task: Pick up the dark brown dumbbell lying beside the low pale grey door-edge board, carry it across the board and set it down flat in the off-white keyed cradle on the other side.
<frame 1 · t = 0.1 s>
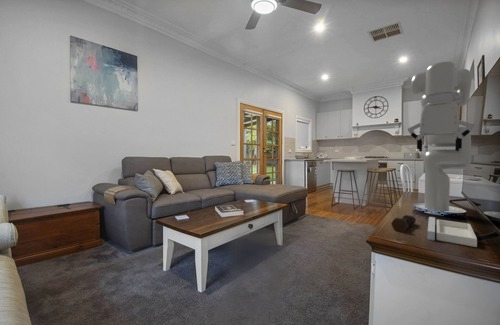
hand: (438, 151, 77), 31 cm above the table, tool pointing down, fingers open, 9 cm apart
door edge: (431, 231, 87), on the table
dark brown dumbbell: (405, 228, 93), on the table
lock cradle: (454, 234, 83), on the table
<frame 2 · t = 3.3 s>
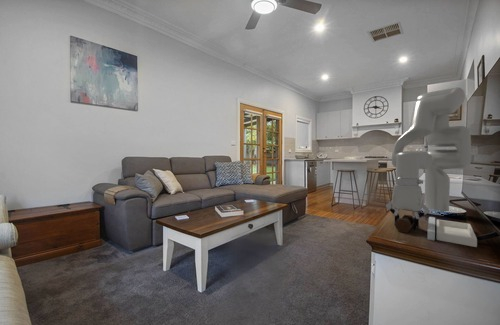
hand: (406, 225, 92), 1 cm above the table, tool pointing down, fingers closed on dark brown dumbbell, 5 cm apart
dark brown dumbbell: (406, 228, 92), on the table, touching gripper
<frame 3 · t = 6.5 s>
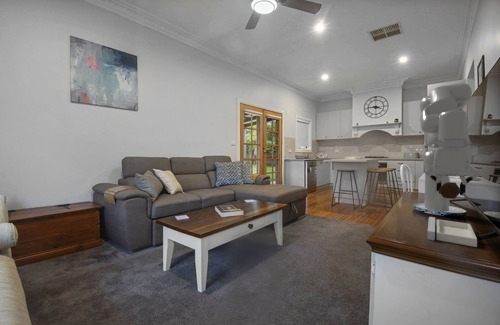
hand: (450, 193, 83), 15 cm above the table, tool pointing down, fingers closed on dark brown dumbbell, 5 cm apart
dark brown dumbbell: (450, 195, 83), point 14 cm above the table, touching gripper
when the fingers open (4 cm above the table, at t = 9.7 s): dark brown dumbbell drops 3 cm, resting on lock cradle.
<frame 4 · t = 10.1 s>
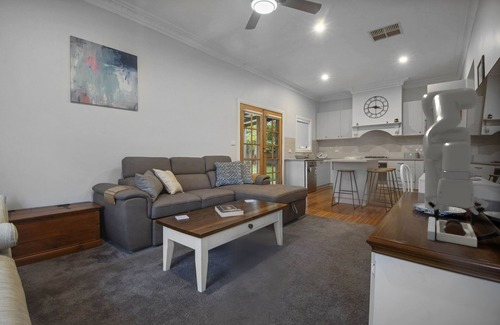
hand: (454, 222, 83), 5 cm above the table, tool pointing down, fingers open, 9 cm apart
dark brown dumbbell: (454, 233, 83), resting on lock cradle
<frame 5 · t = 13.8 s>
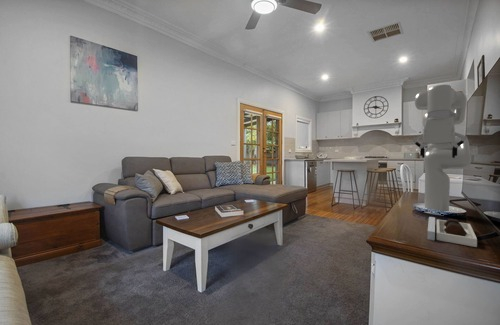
hand: (437, 157, 94), 28 cm above the table, tool pointing down, fingers open, 9 cm apart
nothing on the table moved.
at the end: dark brown dumbbell 0.1 cm off-centre on the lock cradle, point 0.4 cm above the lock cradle's base; dark brown dumbbell tilted 0°; the gripper is holding nothing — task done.
